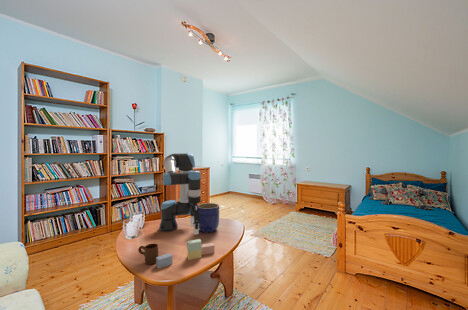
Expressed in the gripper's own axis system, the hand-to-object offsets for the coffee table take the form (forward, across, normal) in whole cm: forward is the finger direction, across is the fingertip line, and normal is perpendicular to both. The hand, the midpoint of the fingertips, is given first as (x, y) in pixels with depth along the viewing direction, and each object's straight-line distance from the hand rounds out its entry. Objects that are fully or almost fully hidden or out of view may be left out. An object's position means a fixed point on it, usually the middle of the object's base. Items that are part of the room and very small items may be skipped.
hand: (194, 229), depth 131 cm
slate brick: (+17, +4, -18) cm, 25 cm away
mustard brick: (+17, +1, 0) cm, 17 cm away
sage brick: (+12, +1, 0) cm, 12 cm away
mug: (+17, -3, -27) cm, 32 cm away
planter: (+18, -40, +18) cm, 48 cm away
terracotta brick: (+17, -2, +9) cm, 19 cm away
